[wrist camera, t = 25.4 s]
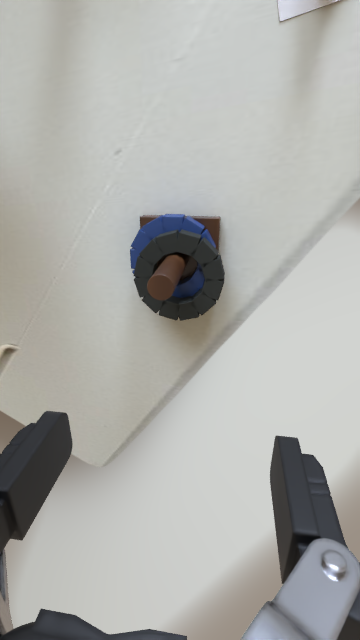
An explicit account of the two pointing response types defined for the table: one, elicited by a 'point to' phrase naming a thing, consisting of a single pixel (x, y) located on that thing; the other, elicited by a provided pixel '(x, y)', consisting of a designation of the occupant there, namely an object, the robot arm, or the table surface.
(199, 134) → the table surface
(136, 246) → the navy ring
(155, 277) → the stand
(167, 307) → the charcoal ring
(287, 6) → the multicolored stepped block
